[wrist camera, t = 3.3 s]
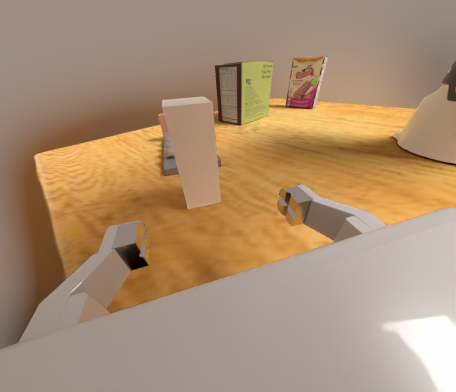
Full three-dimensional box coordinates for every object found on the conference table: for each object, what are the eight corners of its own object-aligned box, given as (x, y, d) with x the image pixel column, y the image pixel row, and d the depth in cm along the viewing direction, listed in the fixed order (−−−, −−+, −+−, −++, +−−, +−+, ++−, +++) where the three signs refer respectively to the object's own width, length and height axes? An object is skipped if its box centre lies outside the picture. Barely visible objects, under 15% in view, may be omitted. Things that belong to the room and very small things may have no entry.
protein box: (268, 116, 61) (274, 61, 51) (241, 125, 52) (241, 61, 43) (245, 112, 67) (246, 62, 57) (218, 121, 58) (213, 64, 48)
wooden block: (213, 185, 26) (203, 96, 19) (221, 202, 23) (212, 102, 15) (184, 190, 25) (162, 100, 18) (187, 209, 22) (161, 107, 15)
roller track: (202, 134, 47) (199, 109, 43) (221, 165, 31) (218, 131, 27) (165, 139, 44) (158, 114, 41) (165, 175, 29) (154, 140, 25)
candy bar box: (285, 107, 71) (292, 57, 62) (289, 105, 75) (296, 57, 65) (312, 109, 66) (325, 55, 56) (315, 106, 69) (328, 55, 59)
